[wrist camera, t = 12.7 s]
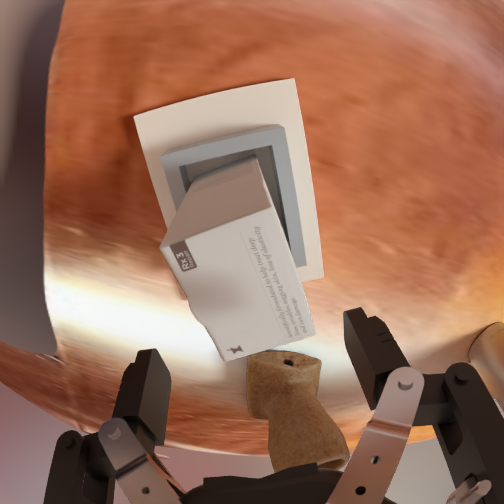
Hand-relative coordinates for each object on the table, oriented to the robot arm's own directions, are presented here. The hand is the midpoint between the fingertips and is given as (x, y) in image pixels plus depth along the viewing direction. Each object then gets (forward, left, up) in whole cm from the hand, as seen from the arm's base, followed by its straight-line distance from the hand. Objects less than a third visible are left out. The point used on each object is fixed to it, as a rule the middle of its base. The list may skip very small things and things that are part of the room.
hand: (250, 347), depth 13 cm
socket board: (0, 0, -19) cm, 19 cm away
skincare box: (0, 0, -18) cm, 18 cm away
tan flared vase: (-27, -1, -19) cm, 33 cm away
